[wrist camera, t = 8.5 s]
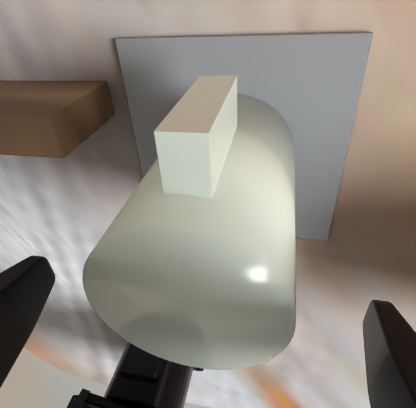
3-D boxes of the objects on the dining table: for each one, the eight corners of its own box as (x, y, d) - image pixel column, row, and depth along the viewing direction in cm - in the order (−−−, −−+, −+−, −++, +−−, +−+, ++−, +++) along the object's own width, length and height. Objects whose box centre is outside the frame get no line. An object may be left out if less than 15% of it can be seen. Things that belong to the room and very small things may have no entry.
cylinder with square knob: (288, 204, 17) (284, 383, 10) (183, 196, 18) (110, 351, 11) (306, 52, 12) (323, 171, 5) (166, 53, 13) (25, 154, 6)
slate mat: (326, 237, 18) (327, 241, 17) (153, 220, 20) (152, 223, 19) (371, 31, 12) (373, 33, 12) (118, 37, 14) (115, 39, 14)
